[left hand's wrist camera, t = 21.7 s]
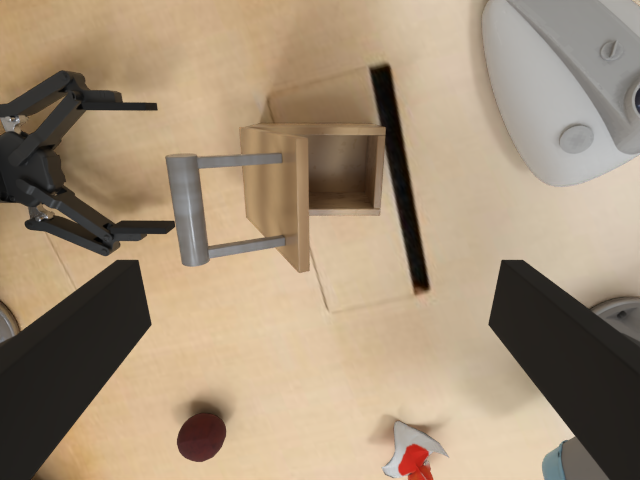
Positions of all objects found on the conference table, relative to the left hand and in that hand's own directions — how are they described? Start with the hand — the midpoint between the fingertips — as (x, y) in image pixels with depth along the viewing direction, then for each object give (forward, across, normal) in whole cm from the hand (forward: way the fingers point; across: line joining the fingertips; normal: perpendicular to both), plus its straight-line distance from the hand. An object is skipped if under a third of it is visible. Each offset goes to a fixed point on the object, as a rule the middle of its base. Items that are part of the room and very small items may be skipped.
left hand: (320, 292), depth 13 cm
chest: (+35, 0, 0) cm, 35 cm away
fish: (+35, -16, +51) cm, 64 cm away
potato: (+35, +20, +45) cm, 60 cm away
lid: (+18, +4, 0) cm, 19 cm away
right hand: (+28, +18, 0) cm, 34 cm away
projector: (+35, -27, -10) cm, 45 cm away
